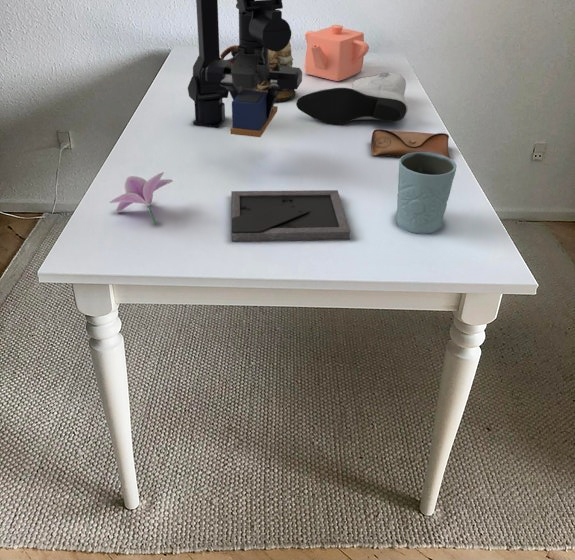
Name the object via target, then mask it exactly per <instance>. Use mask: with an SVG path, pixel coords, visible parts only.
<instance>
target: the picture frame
mask: <svg viewBox="0 0 575 560" xmlns="http://www.w3.org/2000/svg"><path fill="white" fill-rule="evenodd" d="M230 198H231V200H230V201H231V202H230V204H231V205H230V207H231V208H230V209H231V211H230V212H231V213H230V214H231V216H230V217H231V219H230V220H231V225H230V226H231V227H230V228H231V231H230V232H231V242H269V241H271V242H272V241H275V242H277V241H322V240H323V241H330V240H335V241H336V240H337V241H339V240H350V239H351V230H350V226H349V223H348V219H347V216H346V213H345V210H344V206H343V203H342V200H341V197H340V194H339V190H337V189H330V190H329V189H328V190H327V189H326V190H325V189H323V190H321V189H319V190H317V189H316V190H314V189H313V190H231V195H230Z"/></svg>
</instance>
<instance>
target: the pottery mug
mask: <svg viewBox="0 0 575 560" xmlns="http://www.w3.org/2000/svg"><path fill="white" fill-rule="evenodd" d="M238 45H239V44H238ZM238 45H236V44H235V45H234V44H233V45H231V46H228V47H227V48H226V49H225V50H223V51H222V52H221V54H220V58H221V60H222V61H231V63H232V67H233V64H234V62H235V60H236V57H237V54H238ZM229 54H230V55H231V57H230V58H228V59H225V58H226V57H227V56H228V55H229Z"/></svg>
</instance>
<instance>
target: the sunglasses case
mask: <svg viewBox="0 0 575 560" xmlns="http://www.w3.org/2000/svg"><path fill="white" fill-rule="evenodd" d="M449 139H450V136H449V134H448V133H445V132H441V133H440V132H439V133H431V132H430V133H429V132H420V131H406V130H405V131H404V130H388V129H383V128H376V129H374V130H373V132H372V135H371V139H370V148H371V149H370V150H371V155H372V156H375V157H394V158H401V157H402V156H404V155H406V154H409V153H414V152H429V153H436V154H440V155H443V156H446V157H448V158H450V159H452V158H451V157H450V152H449Z"/></svg>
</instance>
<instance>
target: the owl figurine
mask: <svg viewBox="0 0 575 560" xmlns="http://www.w3.org/2000/svg"><path fill="white" fill-rule="evenodd" d="M293 61H294V58H293V55H292V45H291V41H290V42H289V43H288V45H287V46H286V47H285V48H284V49H282V50H280V51H276V52H275V51H271V50H268V62H269V70H270V71H280V70H281V68H282V67H283V66H285V67H293ZM270 85H271V81H268V80H267V81H261V82H259V81H258V85H257V87H255V88H248V87H242V90H249V91H259V92H268V88H269V87H270ZM296 93H297V92H296V89H295V90H291V89H284V90H283V92H279V93H278V95H277V98H276V100H275V103H278V102H279V103H280V102H286V101H289V100H291V99H293V98H295V96H296Z"/></svg>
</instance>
